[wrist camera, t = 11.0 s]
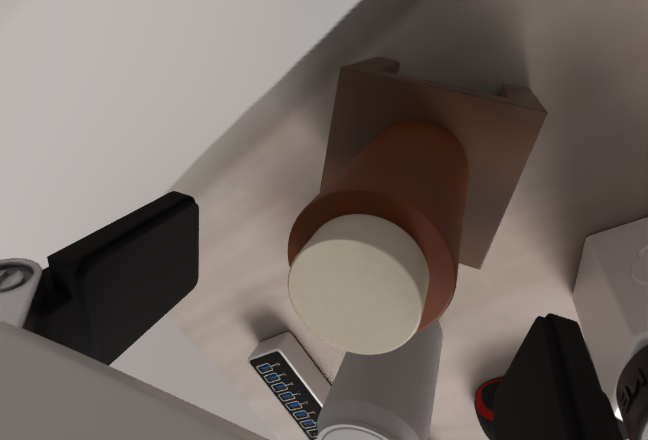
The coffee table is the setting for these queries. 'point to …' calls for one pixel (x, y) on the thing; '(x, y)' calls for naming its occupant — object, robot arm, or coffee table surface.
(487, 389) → the computer mouse
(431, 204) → the spice bottle
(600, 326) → the jar
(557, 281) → the coffee table surface
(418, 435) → the beverage can
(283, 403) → the multiport hub
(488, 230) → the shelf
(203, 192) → the coffee table surface
